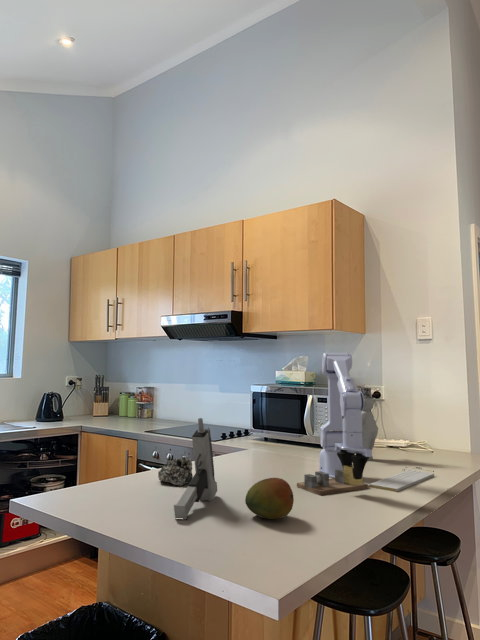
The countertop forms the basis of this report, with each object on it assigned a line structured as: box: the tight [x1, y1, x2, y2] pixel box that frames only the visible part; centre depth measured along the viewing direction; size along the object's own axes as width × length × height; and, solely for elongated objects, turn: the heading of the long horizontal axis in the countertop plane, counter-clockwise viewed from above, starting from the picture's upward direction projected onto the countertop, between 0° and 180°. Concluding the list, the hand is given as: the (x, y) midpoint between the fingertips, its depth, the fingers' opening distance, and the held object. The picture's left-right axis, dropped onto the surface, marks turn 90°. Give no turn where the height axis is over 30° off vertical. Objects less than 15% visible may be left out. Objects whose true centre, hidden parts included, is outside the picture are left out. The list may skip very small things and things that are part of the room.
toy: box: [359, 387, 379, 461], centre depth 205 cm, size 18×9×30 cm, turn 136°
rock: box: [158, 456, 194, 486], centre depth 161 cm, size 13×10×10 cm
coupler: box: [343, 463, 364, 485], centre depth 146 cm, size 4×4×5 cm
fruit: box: [245, 477, 294, 520], centre depth 122 cm, size 12×12×10 cm
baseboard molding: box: [368, 466, 435, 493], centre depth 164 cm, size 31×3×12 cm
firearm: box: [173, 417, 218, 519], centre depth 131 cm, size 4×24×25 cm
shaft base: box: [296, 469, 369, 496], centre depth 154 cm, size 12×19×5 cm, turn 119°
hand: (353, 477), depth 146 cm, fingers closed on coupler, 4 cm apart
